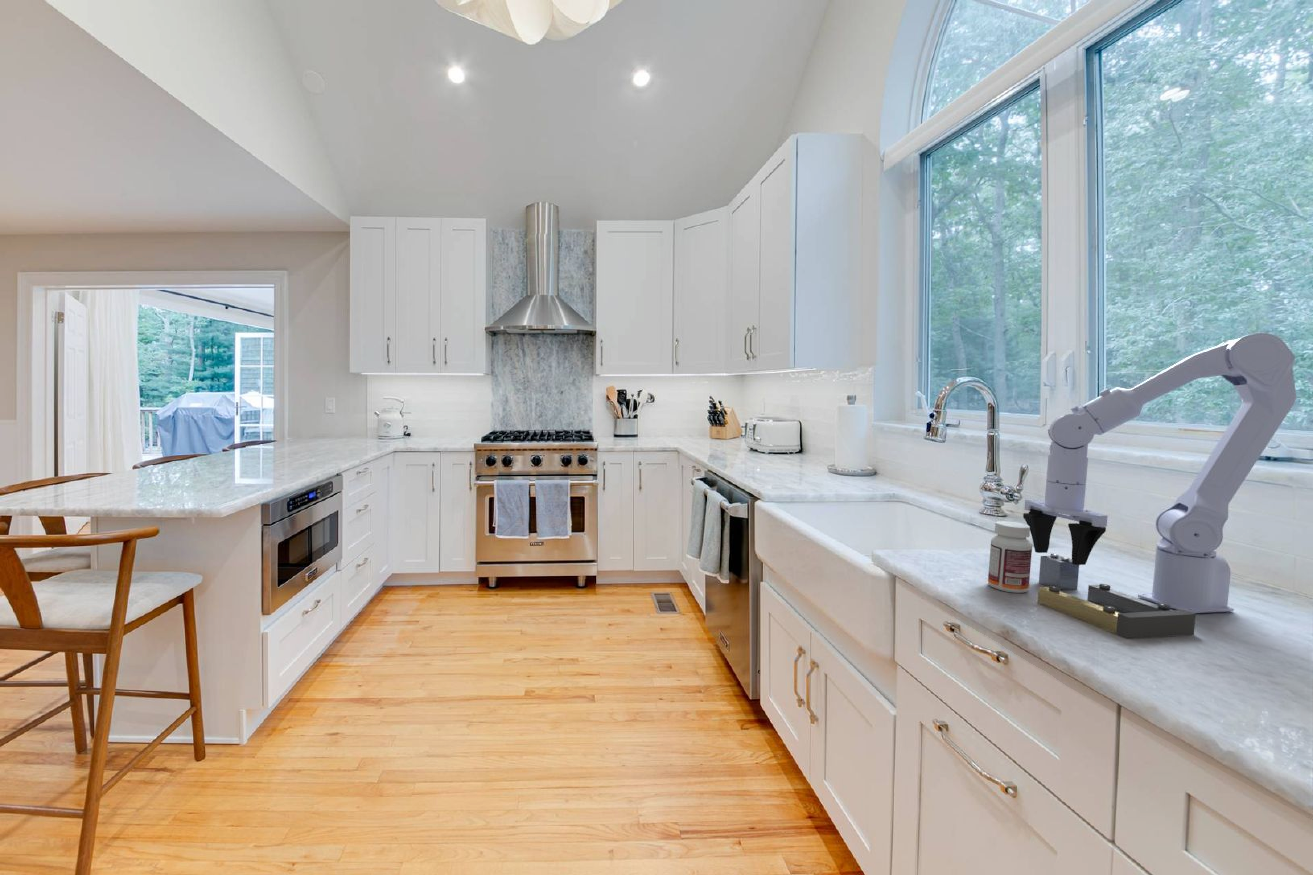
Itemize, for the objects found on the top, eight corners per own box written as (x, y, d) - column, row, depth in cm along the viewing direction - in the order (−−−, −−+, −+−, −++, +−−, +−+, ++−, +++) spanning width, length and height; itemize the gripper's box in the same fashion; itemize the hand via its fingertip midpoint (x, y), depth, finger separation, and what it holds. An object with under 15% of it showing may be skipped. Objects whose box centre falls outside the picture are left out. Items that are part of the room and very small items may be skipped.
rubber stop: (1181, 630, 83) (1183, 609, 83) (1193, 634, 82) (1195, 613, 81) (1116, 634, 81) (1117, 613, 81) (1127, 638, 79) (1129, 617, 79)
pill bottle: (1035, 590, 100) (1040, 526, 99) (1017, 596, 96) (1023, 529, 95) (998, 580, 105) (1003, 519, 104) (980, 585, 101) (985, 522, 101)
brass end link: (1047, 601, 94) (1048, 582, 94) (1126, 633, 81) (1128, 612, 81) (1037, 601, 94) (1039, 583, 93) (1116, 634, 81) (1118, 612, 81)
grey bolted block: (1057, 582, 105) (1059, 552, 105) (1077, 589, 101) (1079, 558, 101) (1038, 583, 104) (1040, 553, 104) (1058, 590, 100) (1060, 559, 100)
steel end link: (1096, 599, 96) (1097, 581, 96) (1181, 630, 83) (1183, 609, 83) (1087, 599, 95) (1088, 581, 95) (1171, 630, 83) (1173, 609, 83)
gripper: (1013, 476, 108) (1007, 547, 109) (1085, 488, 94) (1078, 570, 94) (1044, 476, 109) (1039, 547, 110) (1120, 489, 95) (1113, 569, 96)
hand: (1059, 558), depth 102 cm, fingers open, 7 cm apart
